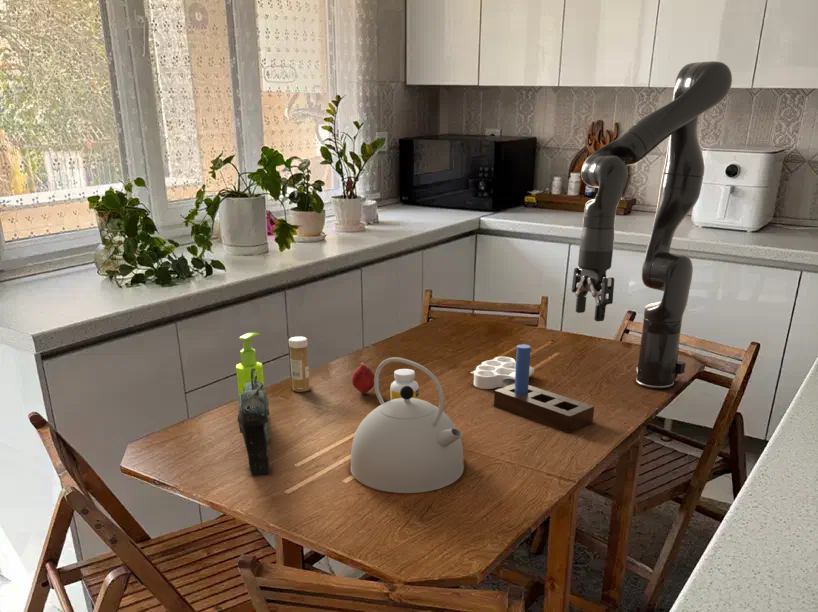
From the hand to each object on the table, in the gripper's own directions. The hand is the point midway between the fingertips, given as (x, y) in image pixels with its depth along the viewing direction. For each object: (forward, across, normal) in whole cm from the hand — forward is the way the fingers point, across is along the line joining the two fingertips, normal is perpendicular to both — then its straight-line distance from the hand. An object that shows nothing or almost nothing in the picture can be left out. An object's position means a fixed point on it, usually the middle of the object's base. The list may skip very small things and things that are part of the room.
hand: (589, 316), depth 185 cm
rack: (+20, -7, +14) cm, 26 cm away
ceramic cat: (+22, -9, +81) cm, 84 cm away
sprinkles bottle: (+21, +28, +64) cm, 73 cm away
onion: (+21, +20, +50) cm, 58 cm away
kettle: (+21, -24, +53) cm, 62 cm away
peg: (+21, -1, +17) cm, 27 cm away
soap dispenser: (+22, +13, +78) cm, 82 cm away
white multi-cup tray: (+21, +18, +13) cm, 31 cm away
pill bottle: (+21, 0, +46) cm, 50 cm away
